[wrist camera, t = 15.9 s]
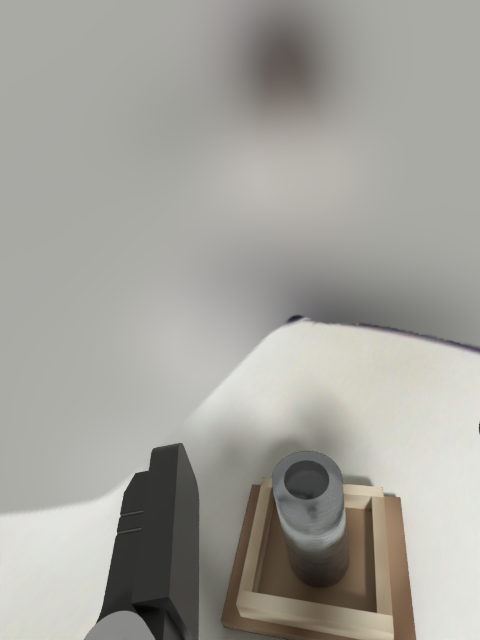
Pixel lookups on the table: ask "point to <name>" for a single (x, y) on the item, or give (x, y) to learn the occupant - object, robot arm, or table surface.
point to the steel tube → (312, 517)
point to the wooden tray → (331, 602)
